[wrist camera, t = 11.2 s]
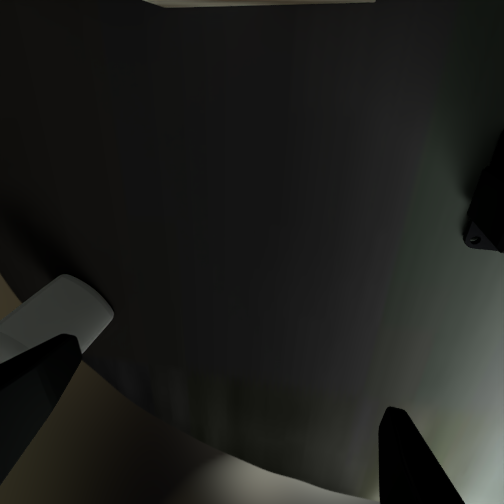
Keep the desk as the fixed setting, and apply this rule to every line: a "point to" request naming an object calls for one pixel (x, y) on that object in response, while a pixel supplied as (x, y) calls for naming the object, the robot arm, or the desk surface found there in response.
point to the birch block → (243, 2)
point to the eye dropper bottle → (55, 317)
